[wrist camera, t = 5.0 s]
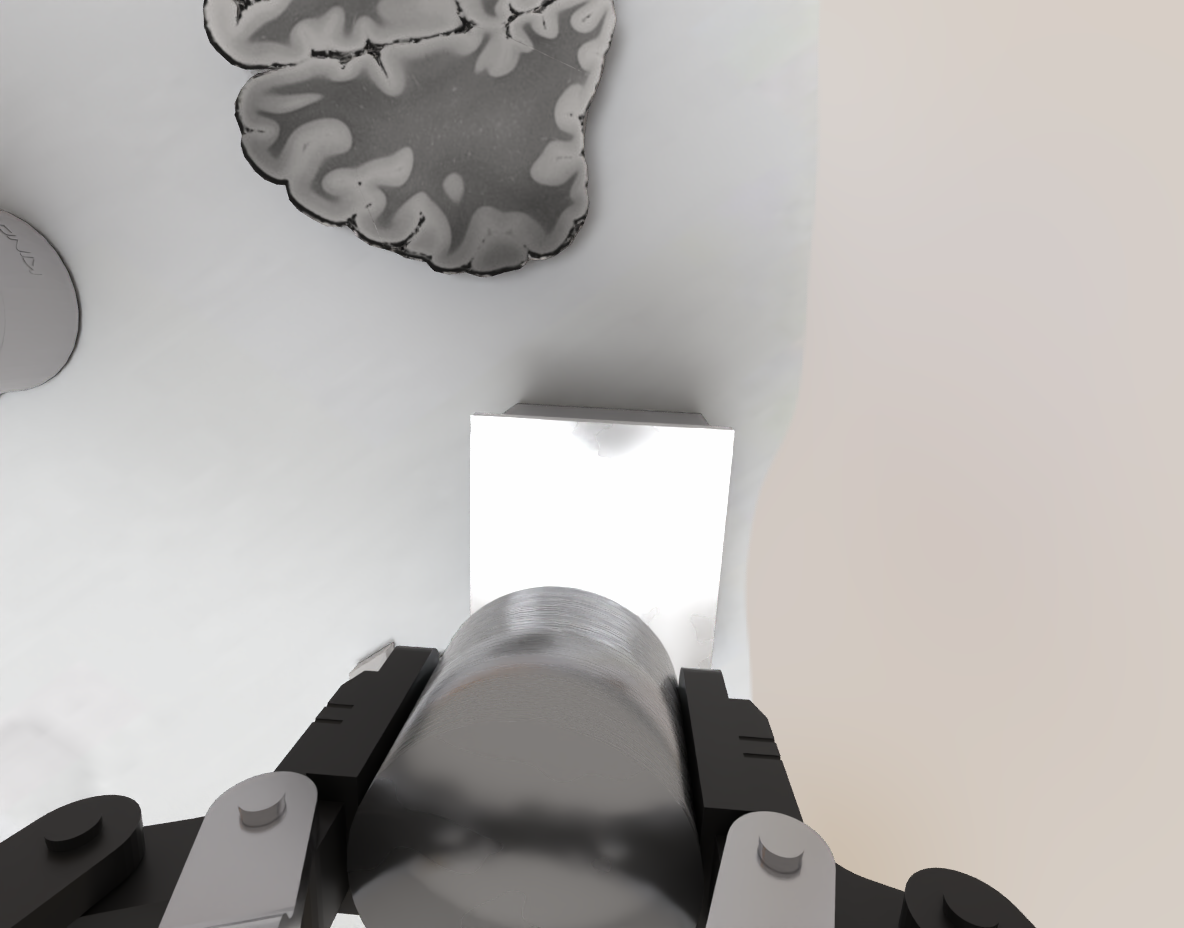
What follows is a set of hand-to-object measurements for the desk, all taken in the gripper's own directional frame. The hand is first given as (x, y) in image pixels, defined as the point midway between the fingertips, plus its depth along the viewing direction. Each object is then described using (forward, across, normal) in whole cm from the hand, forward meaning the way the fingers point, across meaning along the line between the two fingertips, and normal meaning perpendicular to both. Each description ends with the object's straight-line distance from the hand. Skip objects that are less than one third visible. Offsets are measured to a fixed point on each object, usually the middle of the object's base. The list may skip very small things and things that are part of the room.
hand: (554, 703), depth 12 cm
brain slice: (+22, +9, -18) cm, 29 cm away
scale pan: (+14, 0, +4) cm, 15 cm away
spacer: (0, 0, 0) cm, 0 cm away
